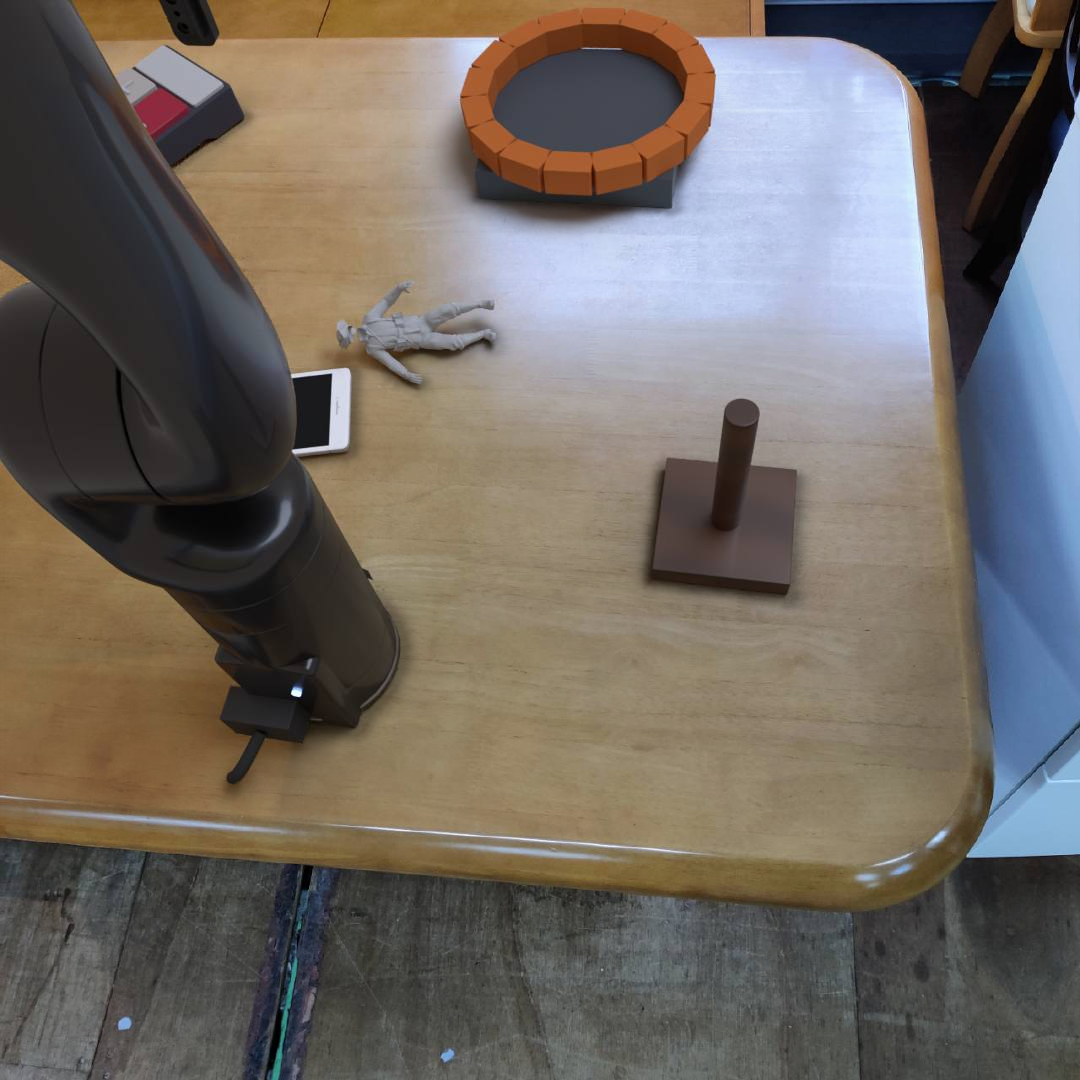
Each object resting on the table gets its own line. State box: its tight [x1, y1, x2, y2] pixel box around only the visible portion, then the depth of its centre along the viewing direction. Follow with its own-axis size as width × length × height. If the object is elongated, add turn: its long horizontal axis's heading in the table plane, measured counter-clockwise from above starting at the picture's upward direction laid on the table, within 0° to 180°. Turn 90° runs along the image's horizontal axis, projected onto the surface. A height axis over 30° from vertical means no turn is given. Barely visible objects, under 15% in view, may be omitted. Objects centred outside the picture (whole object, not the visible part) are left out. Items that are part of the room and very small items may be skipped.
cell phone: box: [291, 367, 353, 458], centre depth 74 cm, size 8×16×1 cm, turn 94°
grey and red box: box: [114, 44, 245, 167], centre depth 91 cm, size 11×4×15 cm
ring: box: [459, 7, 717, 195], centre depth 83 cm, size 22×22×2 cm
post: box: [651, 397, 798, 595], centre depth 60 cm, size 9×9×14 cm
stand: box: [474, 48, 684, 209], centre depth 85 cm, size 17×17×3 cm
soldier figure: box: [335, 280, 497, 385], centre depth 75 cm, size 8×5×12 cm
